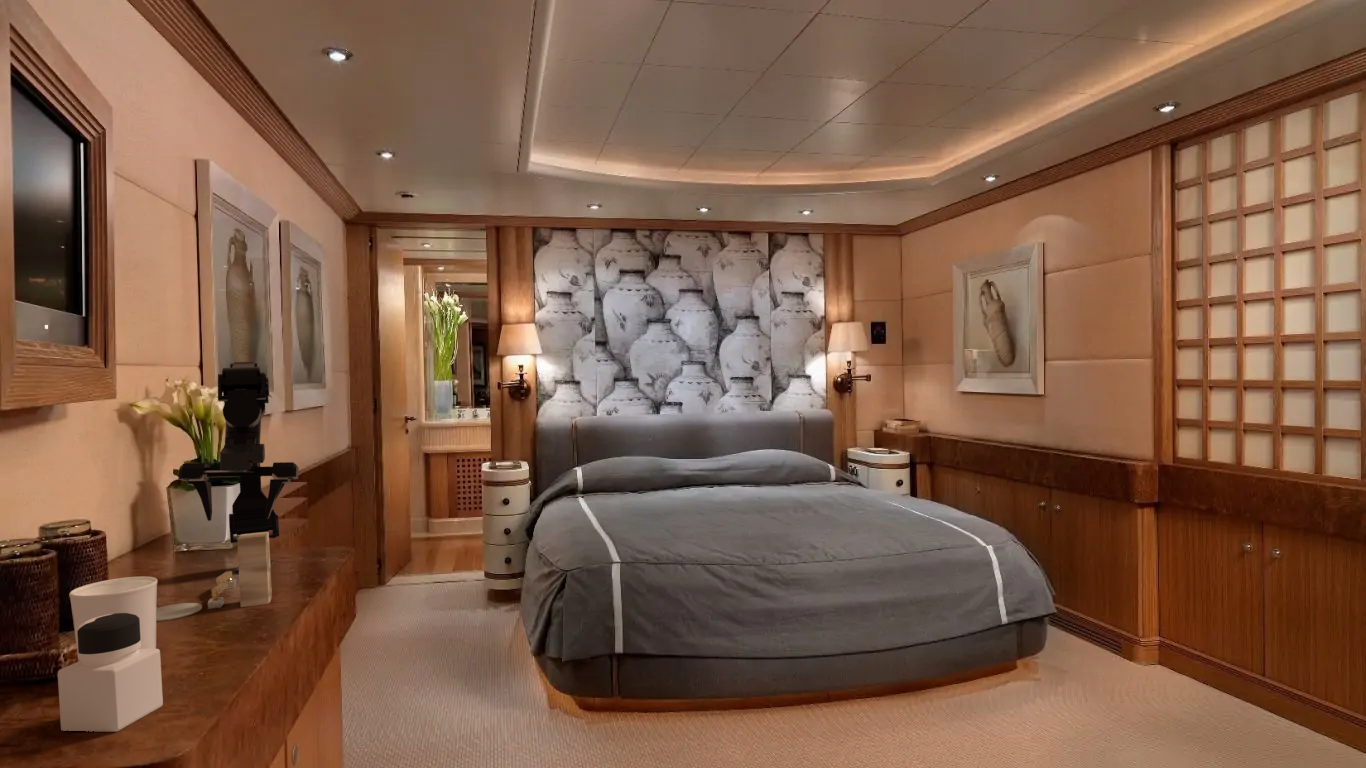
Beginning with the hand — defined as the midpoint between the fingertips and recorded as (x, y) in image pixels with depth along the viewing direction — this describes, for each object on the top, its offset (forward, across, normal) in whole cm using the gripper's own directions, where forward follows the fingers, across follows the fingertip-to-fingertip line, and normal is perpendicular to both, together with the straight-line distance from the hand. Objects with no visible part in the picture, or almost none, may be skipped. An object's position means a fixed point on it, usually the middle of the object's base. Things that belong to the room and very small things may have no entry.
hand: (238, 519), depth 144 cm
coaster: (+16, -9, -1) cm, 18 cm away
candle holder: (+21, -9, -31) cm, 38 cm away
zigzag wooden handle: (+14, -3, +7) cm, 15 cm away
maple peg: (+15, +4, -1) cm, 15 cm away
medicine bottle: (+24, -6, -48) cm, 54 cm away
